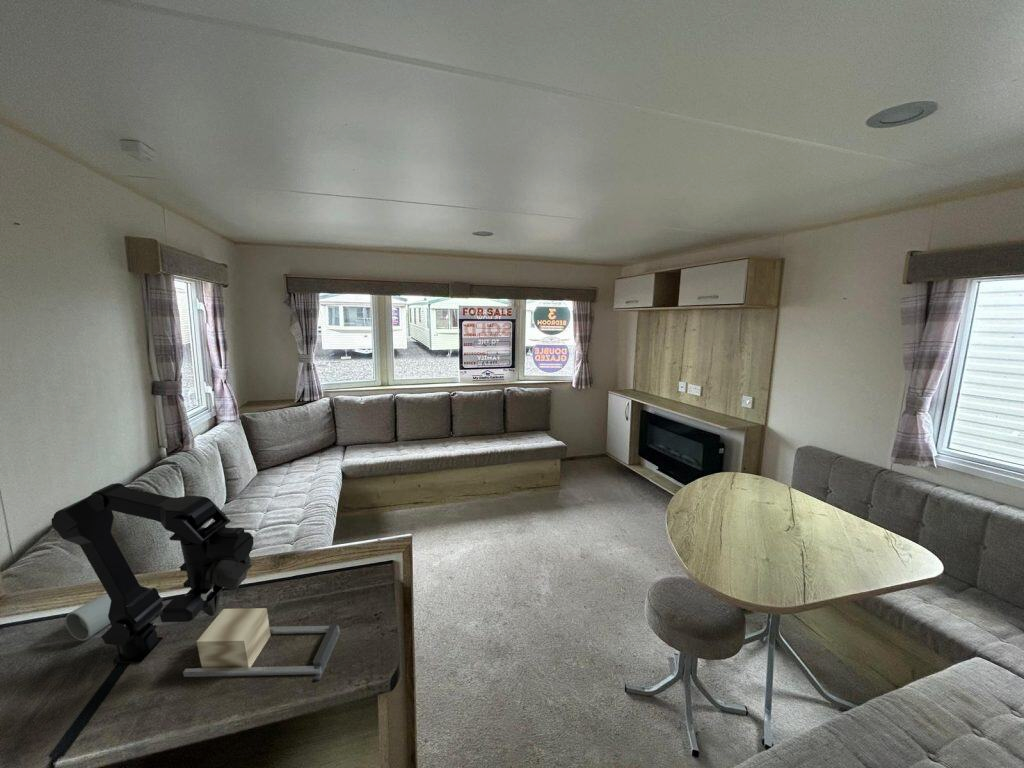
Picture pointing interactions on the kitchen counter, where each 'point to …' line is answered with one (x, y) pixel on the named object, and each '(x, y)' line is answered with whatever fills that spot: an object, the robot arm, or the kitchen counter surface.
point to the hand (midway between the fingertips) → (212, 614)
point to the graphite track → (317, 669)
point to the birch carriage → (234, 638)
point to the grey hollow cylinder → (89, 618)
